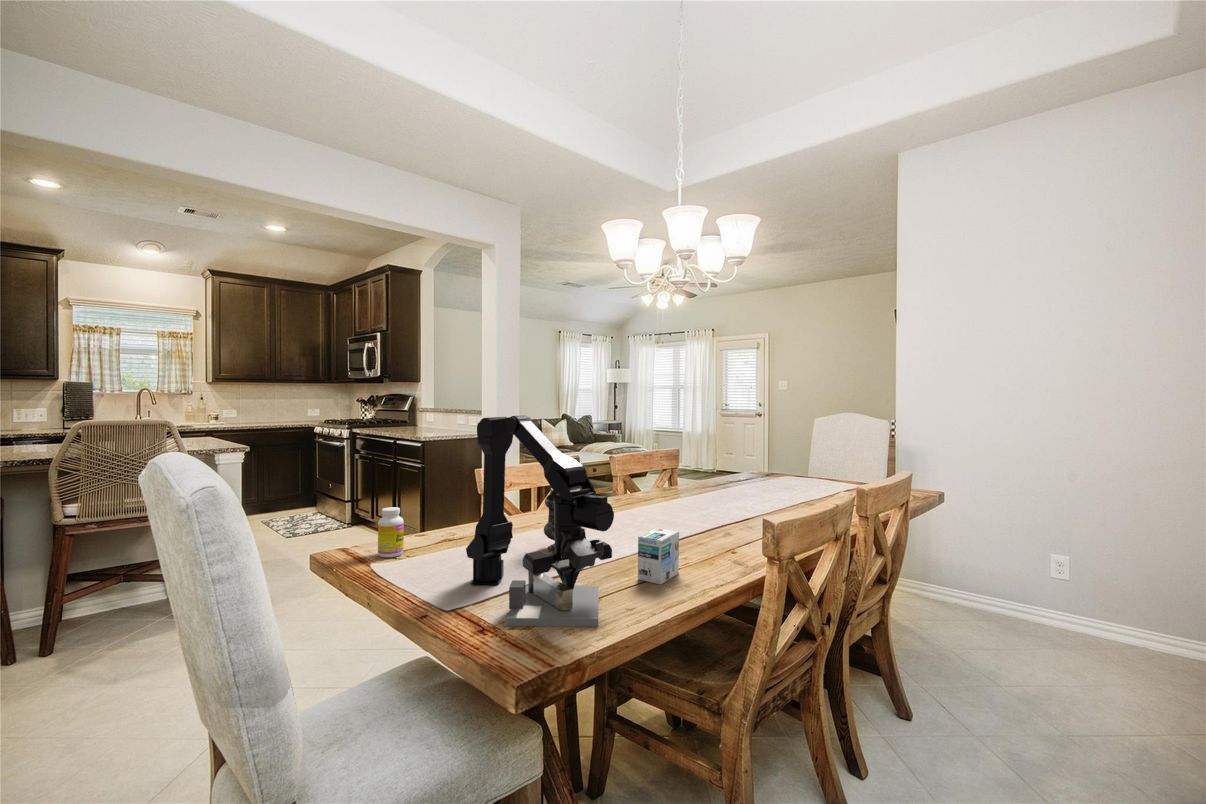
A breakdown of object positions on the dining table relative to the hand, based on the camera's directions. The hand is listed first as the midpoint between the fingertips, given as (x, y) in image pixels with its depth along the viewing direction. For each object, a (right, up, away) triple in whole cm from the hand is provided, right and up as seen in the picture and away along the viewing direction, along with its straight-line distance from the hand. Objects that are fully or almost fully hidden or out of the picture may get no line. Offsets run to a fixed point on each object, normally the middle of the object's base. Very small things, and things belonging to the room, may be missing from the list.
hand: (569, 595), depth 115 cm
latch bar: (-4, -1, +1) cm, 5 cm away
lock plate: (-3, -3, +1) cm, 4 cm away
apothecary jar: (-4, -2, +43) cm, 43 cm away
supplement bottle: (-52, -2, +36) cm, 63 cm away
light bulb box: (+21, -3, +21) cm, 30 cm away
